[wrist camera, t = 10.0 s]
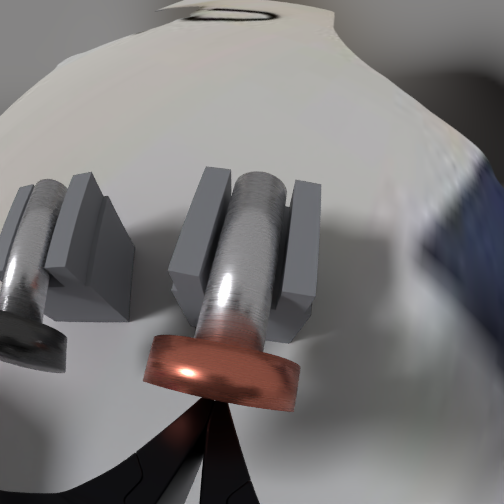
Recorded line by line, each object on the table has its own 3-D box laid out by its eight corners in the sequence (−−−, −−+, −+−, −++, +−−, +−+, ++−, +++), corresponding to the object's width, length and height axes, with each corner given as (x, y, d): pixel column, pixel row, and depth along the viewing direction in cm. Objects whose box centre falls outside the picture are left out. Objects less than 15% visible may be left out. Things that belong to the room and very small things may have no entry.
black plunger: (84, 376, 11) (16, 352, 6) (13, 365, 10) (-52, 337, 6) (104, 216, 15) (71, 152, 11) (40, 224, 15) (2, 171, 10)
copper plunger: (281, 410, 11) (310, 413, 6) (163, 386, 11) (118, 373, 6) (304, 230, 15) (327, 159, 11) (211, 215, 15) (203, 141, 11)
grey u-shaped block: (128, 322, 17) (70, 266, 10) (55, 321, 16) (-14, 271, 10) (135, 247, 19) (96, 170, 13) (66, 252, 19) (16, 188, 12)
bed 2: (288, 343, 17) (323, 297, 10) (190, 325, 17) (160, 268, 10) (298, 263, 19) (327, 185, 13) (211, 248, 20) (200, 165, 13)
